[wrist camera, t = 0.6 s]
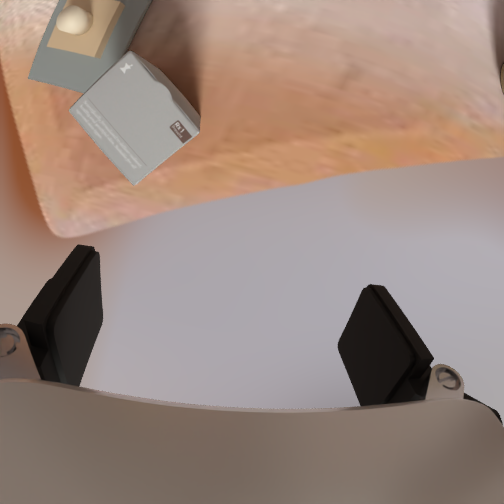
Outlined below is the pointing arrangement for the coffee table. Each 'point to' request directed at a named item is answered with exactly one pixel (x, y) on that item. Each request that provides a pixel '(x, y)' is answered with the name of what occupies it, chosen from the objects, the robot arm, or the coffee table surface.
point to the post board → (80, 64)
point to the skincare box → (136, 116)
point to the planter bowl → (502, 77)
